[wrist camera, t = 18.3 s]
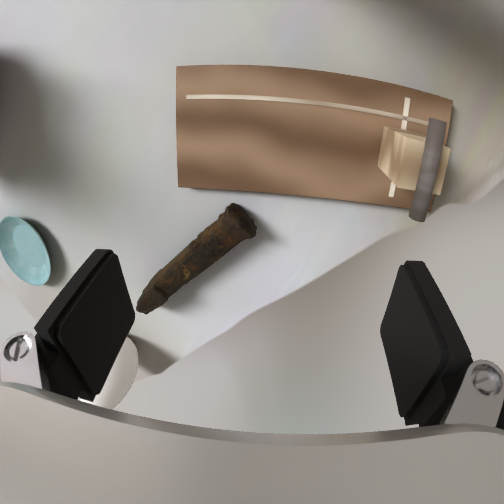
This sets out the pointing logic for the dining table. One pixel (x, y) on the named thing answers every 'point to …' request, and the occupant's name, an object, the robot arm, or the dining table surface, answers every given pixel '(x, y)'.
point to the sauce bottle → (118, 377)
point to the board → (294, 131)
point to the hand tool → (198, 256)
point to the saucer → (24, 251)
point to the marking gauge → (416, 162)
